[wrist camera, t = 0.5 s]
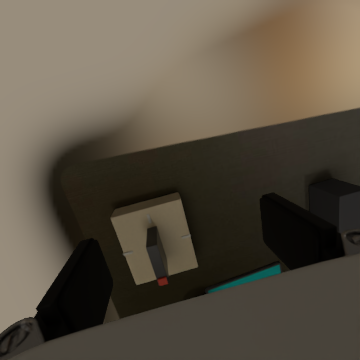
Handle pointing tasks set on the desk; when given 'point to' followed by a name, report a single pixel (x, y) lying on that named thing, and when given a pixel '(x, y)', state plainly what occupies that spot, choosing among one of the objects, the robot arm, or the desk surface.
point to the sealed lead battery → (157, 256)
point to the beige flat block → (168, 230)
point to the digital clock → (336, 203)
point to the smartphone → (247, 277)
